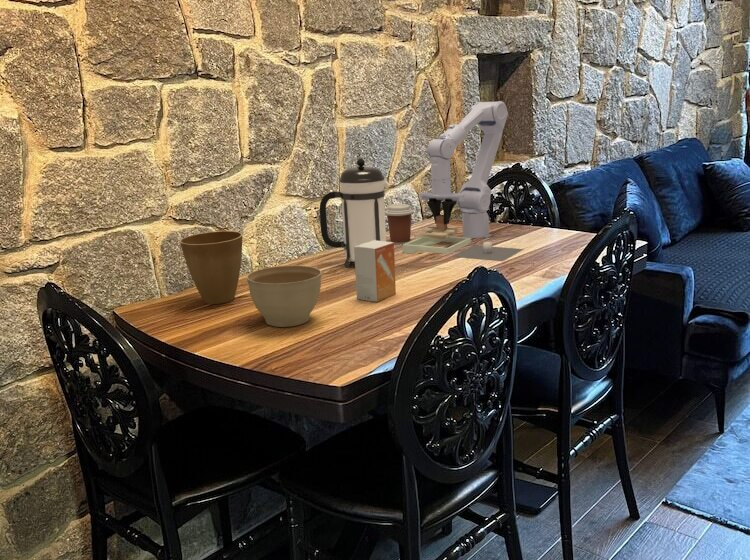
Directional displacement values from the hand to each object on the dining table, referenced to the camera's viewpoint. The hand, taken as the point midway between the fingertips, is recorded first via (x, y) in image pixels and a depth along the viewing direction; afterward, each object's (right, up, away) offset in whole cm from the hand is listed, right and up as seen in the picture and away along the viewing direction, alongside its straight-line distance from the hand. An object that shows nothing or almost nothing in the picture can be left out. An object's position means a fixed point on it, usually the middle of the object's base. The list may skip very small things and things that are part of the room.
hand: (442, 223), depth 221 cm
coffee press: (-24, -13, -14) cm, 31 cm away
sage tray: (-2, -8, -1) cm, 8 cm away
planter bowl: (-40, -27, -63) cm, 79 cm away
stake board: (+12, -11, -13) cm, 21 cm away
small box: (-20, -22, -48) cm, 56 cm away
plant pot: (-59, -23, -44) cm, 77 cm away
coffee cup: (-12, -5, +11) cm, 18 cm away
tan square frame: (-2, -4, -3) cm, 5 cm away
